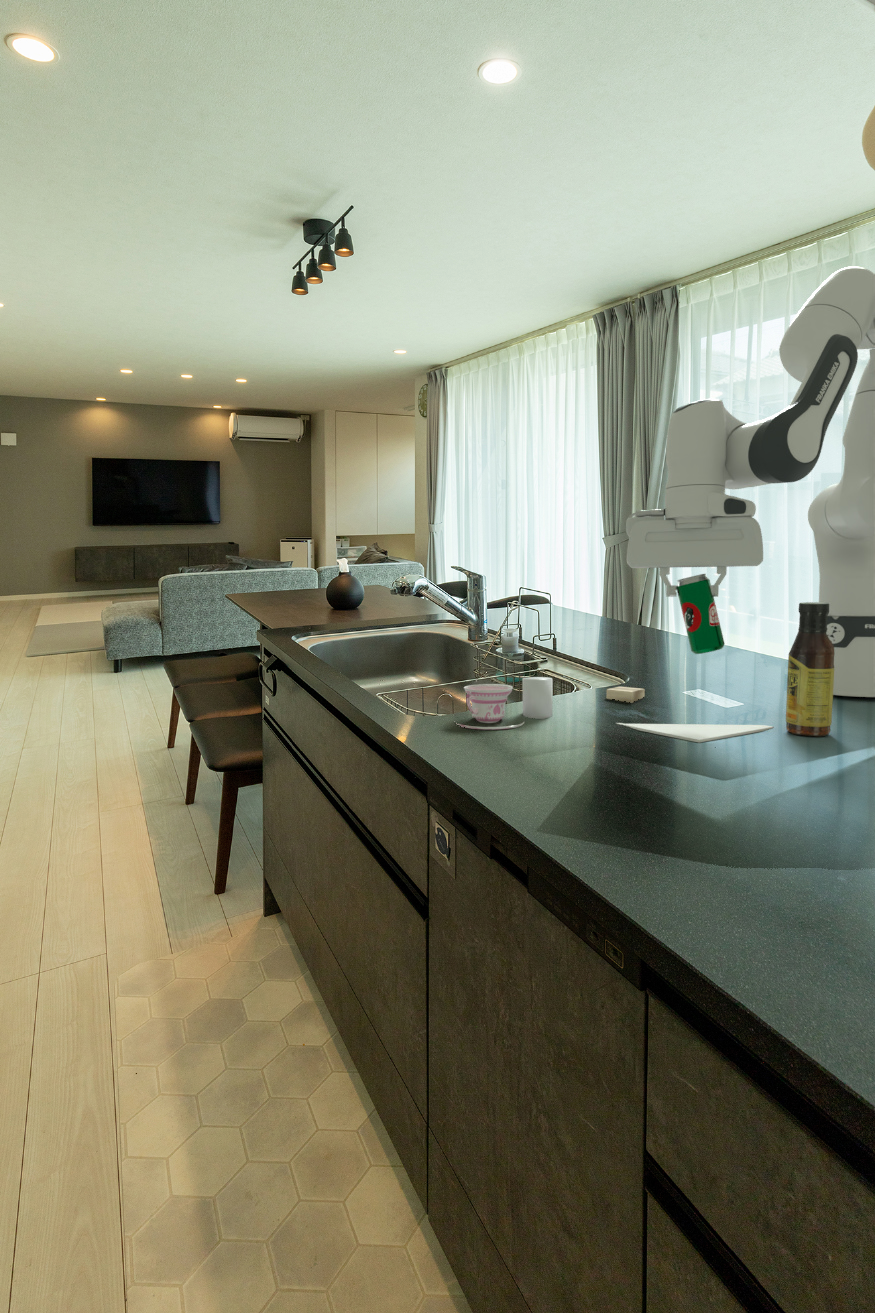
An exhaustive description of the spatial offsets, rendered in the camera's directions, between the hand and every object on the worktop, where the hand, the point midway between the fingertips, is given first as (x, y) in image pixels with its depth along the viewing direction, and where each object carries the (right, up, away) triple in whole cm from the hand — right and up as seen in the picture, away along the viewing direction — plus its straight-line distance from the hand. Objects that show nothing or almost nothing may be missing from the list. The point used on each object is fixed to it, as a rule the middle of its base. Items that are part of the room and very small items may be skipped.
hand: (692, 596), depth 116 cm
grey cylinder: (-23, -20, +8) cm, 32 cm away
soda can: (+3, -9, 0) cm, 9 cm away
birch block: (-6, -19, +18) cm, 27 cm away
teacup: (-32, -21, +5) cm, 38 cm away
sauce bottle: (+16, -21, -4) cm, 27 cm away
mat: (0, -21, +2) cm, 21 cm away
